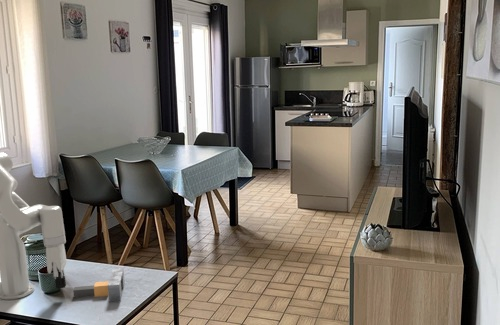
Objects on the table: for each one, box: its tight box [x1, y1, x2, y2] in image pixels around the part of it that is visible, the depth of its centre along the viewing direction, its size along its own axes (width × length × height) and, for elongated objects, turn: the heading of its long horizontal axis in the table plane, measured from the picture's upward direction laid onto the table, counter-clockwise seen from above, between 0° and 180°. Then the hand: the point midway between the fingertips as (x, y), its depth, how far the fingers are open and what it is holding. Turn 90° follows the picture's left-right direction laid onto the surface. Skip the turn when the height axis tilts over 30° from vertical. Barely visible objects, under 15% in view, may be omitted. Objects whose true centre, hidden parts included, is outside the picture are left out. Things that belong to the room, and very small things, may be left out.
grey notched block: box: [108, 267, 125, 303], centre depth 189 cm, size 4×16×6 cm, turn 9°
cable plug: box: [73, 280, 109, 299], centre depth 188 cm, size 12×4×4 cm, turn 99°
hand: (61, 287), depth 186 cm, fingers closed
